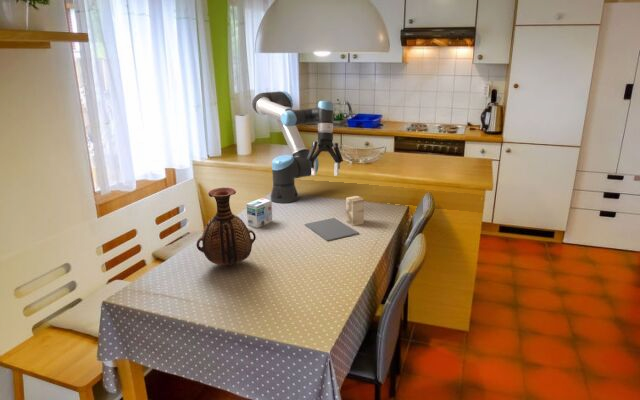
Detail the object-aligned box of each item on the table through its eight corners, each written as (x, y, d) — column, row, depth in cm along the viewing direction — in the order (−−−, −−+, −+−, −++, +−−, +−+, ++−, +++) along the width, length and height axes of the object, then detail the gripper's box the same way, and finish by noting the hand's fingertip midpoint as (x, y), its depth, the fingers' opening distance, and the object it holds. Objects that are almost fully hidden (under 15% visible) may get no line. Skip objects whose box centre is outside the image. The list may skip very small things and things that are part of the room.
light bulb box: (257, 228, 217) (256, 206, 213) (247, 225, 221) (245, 203, 217) (273, 221, 225) (272, 200, 221) (263, 218, 229) (261, 197, 225)
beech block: (346, 221, 223) (346, 197, 219) (356, 219, 225) (356, 195, 221) (352, 225, 218) (352, 201, 214) (363, 223, 220) (363, 199, 216)
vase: (258, 254, 189) (254, 183, 180) (254, 275, 172) (248, 197, 163) (205, 256, 189) (197, 184, 179) (195, 277, 172) (186, 199, 162)
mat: (304, 225, 219) (304, 223, 219) (334, 218, 226) (334, 217, 226) (327, 241, 201) (327, 240, 201) (358, 234, 208) (358, 232, 208)
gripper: (308, 130, 223) (307, 174, 223) (350, 133, 236) (349, 175, 237) (299, 131, 229) (299, 175, 229) (341, 135, 242) (341, 176, 243)
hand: (325, 175), depth 233 cm, fingers open, 13 cm apart
